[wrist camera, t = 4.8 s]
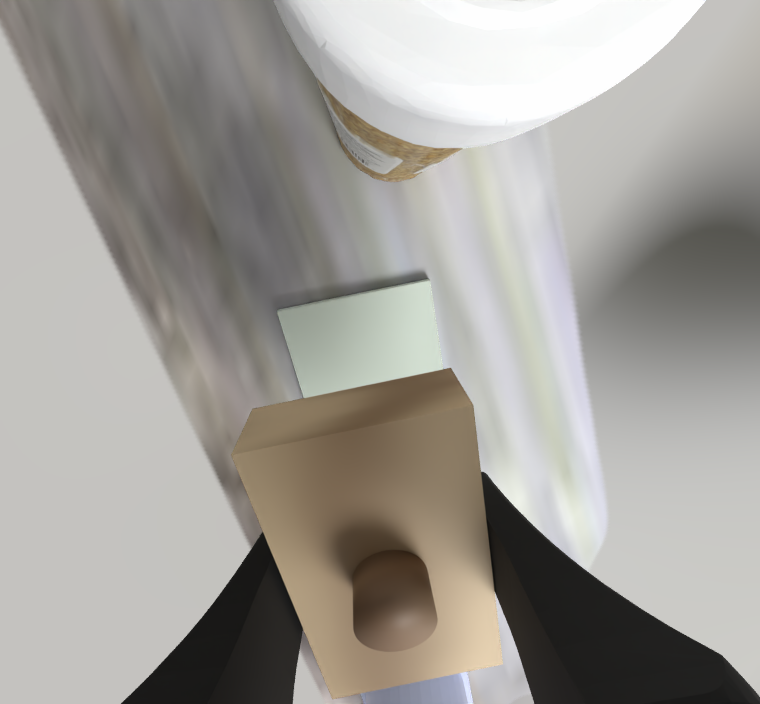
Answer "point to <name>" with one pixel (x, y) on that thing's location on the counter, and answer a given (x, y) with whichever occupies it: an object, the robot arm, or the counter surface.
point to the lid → (378, 528)
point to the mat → (363, 338)
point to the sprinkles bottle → (466, 67)
